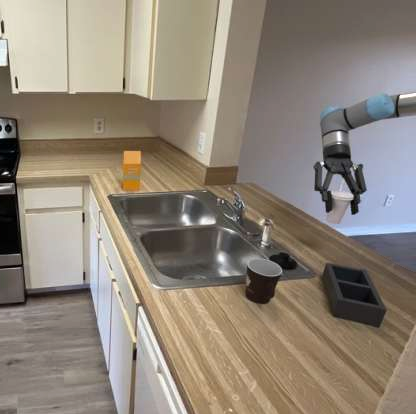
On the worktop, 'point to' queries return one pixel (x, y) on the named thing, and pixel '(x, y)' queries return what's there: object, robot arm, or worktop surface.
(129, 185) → the orange juice
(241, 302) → the worktop surface
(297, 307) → the worktop surface
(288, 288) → the worktop surface
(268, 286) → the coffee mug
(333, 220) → the smoothie
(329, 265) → the cup holder
